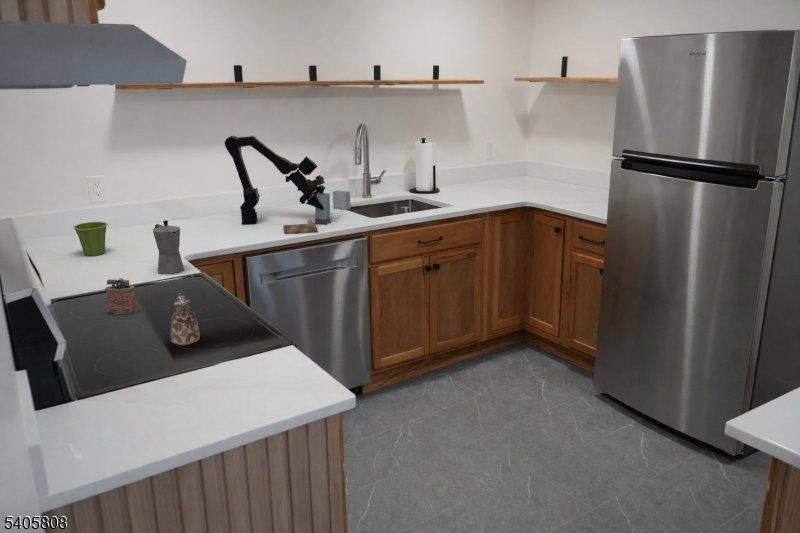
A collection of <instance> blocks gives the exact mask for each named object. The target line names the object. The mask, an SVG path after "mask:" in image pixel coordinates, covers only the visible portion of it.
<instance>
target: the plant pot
mask: <svg viewBox="0 0 800 533" xmlns="http://www.w3.org/2000/svg"><path fill="white" fill-rule="evenodd" d="M107 226H108V223H107V222H106V221H91V222H90V221H88V222H82V223H78V224H76V225H73V226H72V227H73V230H75V232H76V235H77V237H78V240H79V243H80V245H81V248H82V251H83V255H84V256H87V257H90V256H92V257H97V256H101V255H103V254H104V253H105V252H106V232H107Z"/></svg>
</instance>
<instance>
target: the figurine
mask: <svg viewBox="0 0 800 533" xmlns="http://www.w3.org/2000/svg"><path fill="white" fill-rule="evenodd" d="M173 306H174V311H175V312H173V314H172V315H171V318H170V341H171V343H174V344H176V345H179V346H185V345H191V344H193V343H196V342H199V341H200V337H201V335H200V329H199V323H198V317H197V316H196V313H195V312H194V311H193V310H191V300H190V299H189V298H188V297H187V296H185V295H183V293H181V292H179V293H178V294H177V297H176V298H175V299H174V302H173Z"/></svg>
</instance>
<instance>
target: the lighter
mask: <svg viewBox="0 0 800 533" xmlns="http://www.w3.org/2000/svg"><path fill="white" fill-rule="evenodd" d="M106 285H110V286H106V287H105V289H104V290H105V293H106V299H107V305H108V306H107V307H108V309H107V311H108V314H109V313H113V314H112V315H129V314H136V313H137V312H138V307H137V303H136V302H137V301H136V297H135V296H136V295H135V286H134V285H130V279H123V278H122V277H121V278H118V279H116V278H115V279H112V278H110V279H107V280H106Z"/></svg>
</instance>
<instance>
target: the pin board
mask: <svg viewBox="0 0 800 533" xmlns="http://www.w3.org/2000/svg"><path fill="white" fill-rule="evenodd" d="M316 224H317V223H313V222H312V220H311V219H308V220H306V223H302V224H301V223H300V224H298V223H297V224H283V225H282V226H283V232H284V233H283V234H284V235H294V234H295V235H296V234H297V235H298V234H314V233H319V231H318V227H317V225H316Z"/></svg>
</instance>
